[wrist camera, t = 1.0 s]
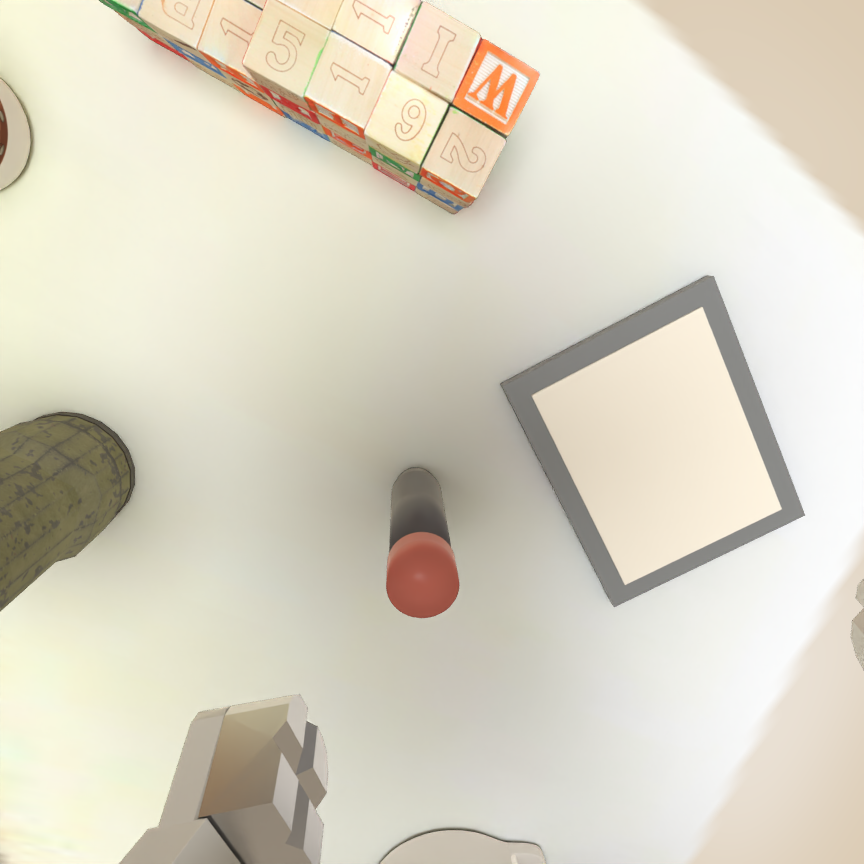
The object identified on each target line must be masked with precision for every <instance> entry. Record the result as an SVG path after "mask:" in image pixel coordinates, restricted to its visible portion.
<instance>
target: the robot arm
mask: <svg viewBox="0 0 864 864" xmlns="http://www.w3.org/2000/svg"><path fill="white" fill-rule="evenodd" d="M856 599H857V600H858V601H859V603H860V604H861V605H862V606H863V607H864V579H863V580H862V581H861V582H860V583H859V584H858V587H857V593H856ZM851 640H852V644H853V647H854V651H855V654H856V657H857V659H858V661H859V663H860V664H861V666H862V668H863V670H864V609H862V611H861V612H860V613H859V614H858V615H857V616H856V617H855V618H854V619H853V620H852V628H851ZM307 711H308V707H307V706H306V704H305V702H304V700H303V699H302V697H301V695H300V694H298V695H290V696H285V697H279V698H273V699H267V700H262V701H256V702H250V703H244V704H239V705H233V706H228V707H223V708H218V709H212V710H207V711H202V712H199V713H198V714H197V715H196V717H195V718H194V719H193V721H192V722H191V724H190V727H189V730H188V734H187V737H186V740H185V743H184V746H183V749H182V753H181V756H180V759H179V762H178V765H177V768H176V772H175V775H174V778H173V781H172V784H171V787H170V791H169V794H168V797H167V800H166V803H165V806H164V810H163V813H162V816H161V819H160V822H159V826H158V827H155V828H150V829H148V830H147V831H146V832H145V833H144V834H143V836H142V837H141V838H140V839H139V840H138V842H137V843H136V844H135V845H134V846H133V848H132V849H131V850H130V851H129V852H128V853H127V855H126V856H125V857H124V858H123V859H122V861H121V862H120V863H119V864H320V859H321V848H322V838H323V828H324V824H323V822H322V820H321V819H320V817H319V815H318V813H317V811H316V810H315V809H316V808H317V806H318V805H319V803H320V802H321V800H322V799H323V797H324V796H325V794H326V793H327V783H328V763H327V751H326V747H325V744H324V740H323V737H322V735H321V733H320V731H319V729H318V727H317V726H315V725H313V724H311V723H309V722H307V721H306V719H307ZM380 864H546V862H545V859H544V856H543V853H542V850H541V849H540V847H538V846H537V845H534V844H530V843H507V842H503V841H500V840H497V839H494V838H492V837H489V836H486V835H483V834H480V833H476V832H471V831H463V830H446V831H437V832H432V833H428V834H424V835H421V836H418V837H415V838H413V839H411V840H409V841H407V842H405V843H403V844H401V845H400V846H398V847H397V848H395V849H394V850H393V851H391V852H390V853H389V854H388V855H387V856H386V857H385V858H384V859H383V860H382V861H381V863H380Z"/></svg>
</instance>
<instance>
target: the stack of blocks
mask: <svg viewBox="0 0 864 864" xmlns="http://www.w3.org/2000/svg"><path fill="white" fill-rule="evenodd" d="M99 1H100V2H102V3H103V4H104V5H106V6H108V7H110V8H111V9H113V10H114V11H115V12H117V13H118V14H119V15H120V16H121V17H123V18H124V19H125V20H126V21H128V22H129V23H130V24H132V25H133V26H135V27H136V28H137V29H138V30H139V31H140V32H141V33H143V34H144V35H145V36H147V37H148V38H149V39H150V40H152V41H154V42H155V43H157V44H159V45H161V46H163V47H165V48H166V49H168V50H170V51H172V52H174V53H175V54H177V55H179V56H181V57H183V58H184V59H186V60H188V61H190V62H192V63H193V64H194V65H195V66H196V67H198V68H199V69H201V70H203V71H204V72H206V73H208V74H210V75H211V76H213V77H215V78H217V79H218V80H220V81H222V82H224V83H226V84H227V85H229V86H231V87H233V88H234V89H236V90H238V91H240V92H242V93H243V94H245V95H246V96H248V97H250V98H252V99H253V100H255V101H257V102H259V103H260V104H262V105H264V106H266V107H267V108H269V109H271V110H273V111H274V112H276V113H278V114H280V115H281V116H283V117H286V118H289V119H291V120H293V121H294V122H296V123H298V124H300V125H301V126H303V127H305V128H307V129H308V130H310V131H312V132H314V133H315V134H317V135H319V136H320V137H322V138H324V139H326V140H327V141H330V142H332V143H333V144H335V145H337V146H339V147H340V148H342V149H344V150H346V151H347V152H349V153H351V154H352V155H354V156H356V157H358V158H360V159H361V160H363V161H365V162H367V163H368V164H370V165H372V166H373V167H374V168H375V169H377V170H378V171H380V172H382V173H383V174H385V175H387V176H389V177H390V178H392V179H394V180H396V181H397V182H399V183H401V184H403V185H404V186H406V187H408V188H410V189H411V190H413V191H415V192H416V193H417V194H419V195H421V196H422V197H424V198H426V199H428V200H429V201H431V202H433V203H434V204H436V205H438V206H440V207H441V208H443V209H445V210H447V211H448V212H450V213H452V214H455V213H457V212H458V211H459V210H461V209H463V208H467V207H469V206H470V205H471V204H472V203H473V201H474V200H475V199H477V197H478V195H479V193H480V191H481V189H482V187H483V186H484V184H485V182H486V180H487V178H488V176H489V174H490V172H491V170H492V168H493V166H494V165H495V163H496V161H497V159H498V157H499V155H500V153H501V151H502V149H503V147H504V146H505V144H506V138H507V137H508V136H509V134H510V133H511V131H512V129H513V127H514V125H515V124H516V122H517V120H518V118H519V116H520V114H521V112H522V110H523V108H524V106H525V104H526V102H527V100H528V98H529V96H530V94H531V92H532V90H533V88H534V86H535V84H536V82H537V80H538V78H539V76H540V72H538V71H537V70H535V69H534V68H532V67H530V66H529V65H527V64H525V63H524V62H522V61H520V60H519V59H517V58H515V57H514V56H512V55H510V54H509V53H507V52H506V51H504V50H502V49H501V48H499V47H497V46H496V45H494V44H493V43H491V42H489V41H488V40H485V39H482V38H481V35H480V34H479V33H478V32H477V31H475V30H473V29H472V28H470V27H468V26H467V25H465V24H463V23H462V22H460V21H458V20H456V19H455V18H453V17H451V16H450V15H448V14H446V13H445V12H443V11H441V10H439V9H438V8H436V7H434V6H432V5H431V4H429V3H427V2H422V1H421V0H99Z"/></svg>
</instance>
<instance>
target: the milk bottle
mask: <svg viewBox="0 0 864 864" xmlns="http://www.w3.org/2000/svg"><path fill="white" fill-rule="evenodd" d="M30 144H31V140H30V128H29V125H28V121H27V117H26V115H25V113H24V111H23V108H22V106H21V104H20V102H19V101H18V99H17V97H16V96H15V94H14V93H13V92H12V90H11V89H10V88H9V87H8V85H7V84H6V83H5V82H4V81H3V80H2V79H1V78H0V190H2V189H3V188H5V187H7V186H8V185H9V184H11V183H12V182H13V181H14V180H15V179H16V178H17V177H18V176H19V175H20V174H21V172H22V170H23V168H24V167H25V165H26V162H27V159H28V156H29V153H30Z"/></svg>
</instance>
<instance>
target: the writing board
mask: <svg viewBox="0 0 864 864" xmlns="http://www.w3.org/2000/svg"><path fill="white" fill-rule="evenodd" d="M501 386H502V388H503V390H504V392H505V394H506V396H507V398H508V400H509V402H510V404H511V406H512V408H513V409H514V411H515V413H516V415H517V417H518V419H519V421H520V423H521V425H522V427H523V429H524V431H525V433H526V435H527V437H528V439H529V441H530V443H531V445H532V447H533V449H534V451H535V453H536V455H537V457H538V459H539V461H540V463H541V465H542V467H543V469H544V471H545V473H546V475H547V477H548V479H549V481H550V483H551V485H552V487H553V489H554V491H555V493H556V495H557V497H558V499H559V500H560V502H561V504H562V506H563V508H564V510H565V512H566V514H567V516H568V518H569V520H570V522H571V524H572V526H573V528H574V530H575V532H576V534H577V536H578V538H579V540H580V542H581V544H582V546H583V548H584V550H585V552H586V554H587V556H588V558H589V560H590V562H591V564H592V566H593V568H594V570H595V572H596V574H597V576H598V578H599V580H600V582H601V584H602V586H603V588H604V590H605V592H606V593H607V595H608V597H609V599H610V601H611V603H612V605H613V606H614V607H616V606H618V605H620V604H622V603H624V602H626V601H628V600H630V599H632V598H634V597H636V596H638V595H641V594H643V593H645V592H647V591H649V590H651V589H653V588H655V587H657V586H659V585H661V584H663V583H666V582H668V581H670V580H672V579H674V578H676V577H678V576H680V575H682V574H684V573H686V572H688V571H690V570H693V569H695V568H697V567H699V566H701V565H703V564H705V563H707V562H709V561H711V560H713V559H715V558H717V557H720V556H722V555H724V554H726V553H728V552H730V551H732V550H734V549H736V548H738V547H740V546H742V545H744V544H747V543H749V542H751V541H753V540H755V539H757V538H759V537H761V536H763V535H765V534H767V533H769V532H771V531H774V530H776V529H778V528H780V527H782V526H784V525H786V524H788V523H790V522H792V521H794V520H796V519H799V518H801V517H803V516H805V514H804V511H803V509H802V506H801V503H800V501H799V498H798V496H797V493H796V490H795V488H794V485H793V482H792V480H791V477H790V475H789V472H788V469H787V467H786V464H785V462H784V459H783V456H782V454H781V451H780V448H779V446H778V443H777V441H776V438H775V435H774V433H773V430H772V428H771V425H770V422H769V420H768V417H767V414H766V412H765V409H764V407H763V404H762V401H761V399H760V396H759V393H758V391H757V388H756V386H755V383H754V380H753V378H752V375H751V373H750V370H749V367H748V365H747V362H746V359H745V357H744V354H743V352H742V349H741V346H740V344H739V341H738V339H737V336H736V333H735V331H734V328H733V325H732V323H731V320H730V318H729V315H728V312H727V310H726V307H725V304H724V302H723V299H722V297H721V294H720V291H719V289H718V286H717V284H716V281H715V278H714V276H705V277H703V278H701V279H699V280H698V281H696V282H694V283H692V284H690V285H688V286H686V287H684V288H682V289H680V290H678V291H677V292H675V293H673V294H671V295H669V296H667V297H665V298H663V299H661V300H659V301H657V302H656V303H654V304H652V305H650V306H648V307H646V308H644V309H642V310H640V311H638V312H636V313H635V314H633V315H631V316H629V317H627V318H625V319H623V320H621V321H619V322H617V323H615V324H614V325H612V326H610V327H608V328H606V329H604V330H602V331H600V332H598V333H596V334H594V335H593V336H591V337H589V338H587V339H585V340H583V341H581V342H579V343H577V344H575V345H573V346H571V347H570V348H568V349H566V350H564V351H562V352H560V353H558V354H556V355H554V356H552V357H550V358H549V359H547V360H545V361H543V362H541V363H539V364H537V365H535V366H533V367H531V368H529V369H528V370H526V371H524V372H522V373H520V374H518V375H516V376H514V377H512V378H510V379H508V380H507V381H505V382H503V383H501Z"/></svg>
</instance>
